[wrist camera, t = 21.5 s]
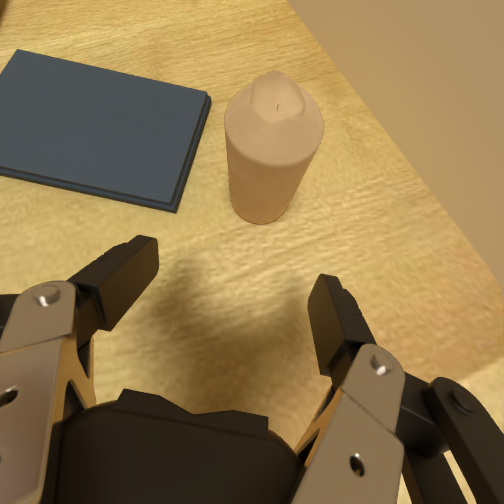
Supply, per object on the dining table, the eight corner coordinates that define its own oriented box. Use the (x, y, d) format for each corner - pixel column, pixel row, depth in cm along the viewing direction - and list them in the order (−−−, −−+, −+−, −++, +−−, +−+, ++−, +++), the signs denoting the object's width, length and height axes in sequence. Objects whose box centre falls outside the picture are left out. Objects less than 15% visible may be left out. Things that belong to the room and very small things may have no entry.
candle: (298, 210, 19) (359, 119, 10) (246, 234, 18) (255, 160, 9) (271, 164, 20) (301, 38, 11) (220, 184, 19) (202, 68, 10)
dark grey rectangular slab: (-44, 165, 18) (-67, 155, 17) (24, 60, 21) (10, 44, 20) (176, 213, 18) (171, 206, 17) (211, 103, 22) (209, 89, 20)
